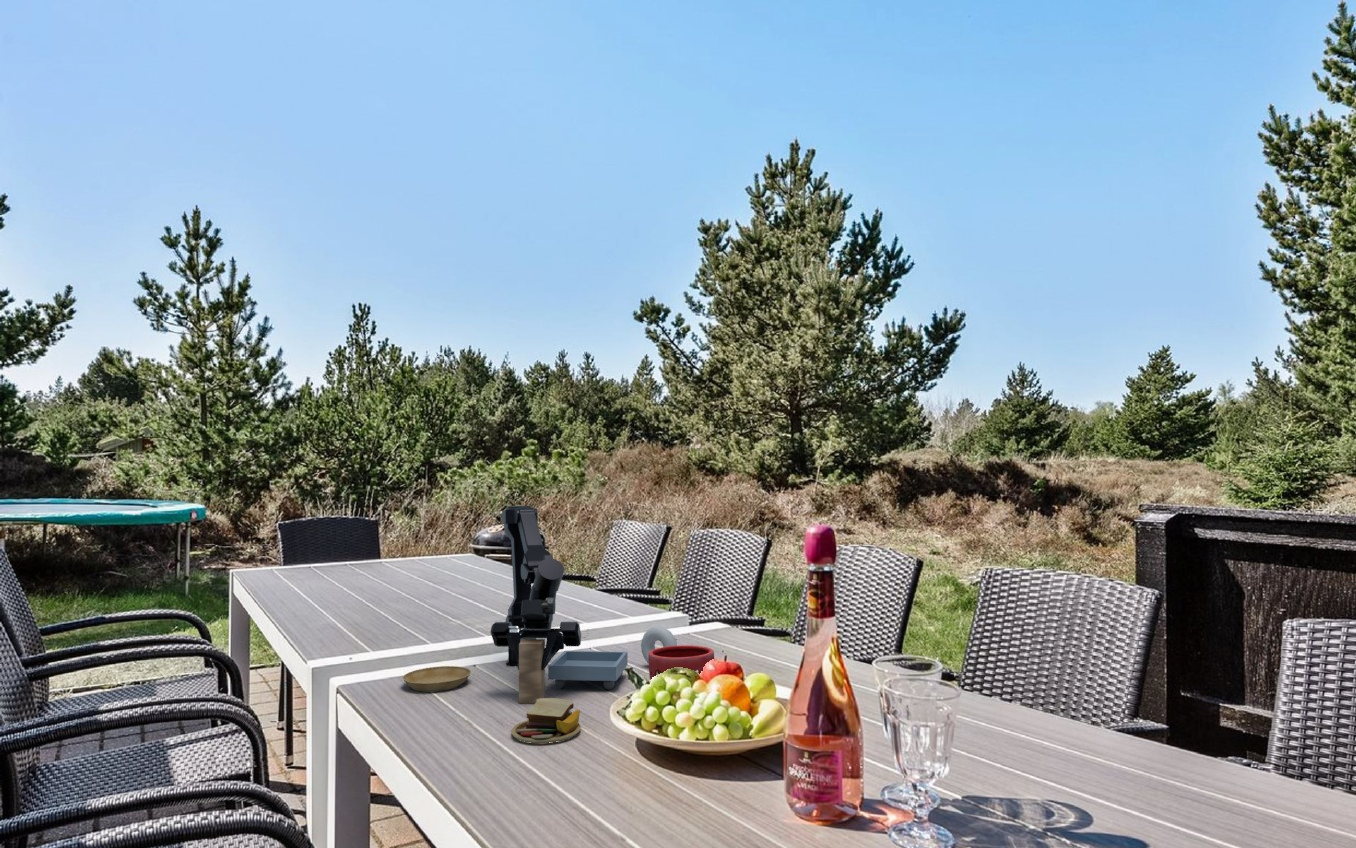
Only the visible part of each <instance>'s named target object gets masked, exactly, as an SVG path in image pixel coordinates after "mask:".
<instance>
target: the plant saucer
mask: <svg viewBox="0 0 1356 848" xmlns="http://www.w3.org/2000/svg"><path fill="white" fill-rule="evenodd" d="M471 674H472V670H471V669H469V668H467V667H463V666H457V665H456V666H455V665H451V666H450V665H444V666H443V665H442V666H440V665H439V666H431V667H425V668H419V669H416V670H411V671H409V672H407V673H405V674H404V675H403V676H402V679H403V681H404V683H405V684H407V686H408V687H409V688H411V689H412V690H414V691H418V692H428V693H429V692H430V693H431V692H443V691H449V690H452V689H456V688H458V687H460V686H461V685H462V684H464V683H465V682H466V681H467V679H468V678H469V676H470V675H471Z"/></svg>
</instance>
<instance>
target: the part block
mask: <svg viewBox="0 0 1356 848" xmlns="http://www.w3.org/2000/svg"><path fill="white" fill-rule="evenodd" d="M545 647H546V638H536V639H523V640H522V641H521V642H520V643H519V670H518V704H535V703H536V700H537V699H541V698H546V680H545V679H546V676H545V675H546V668H545V669H544V670H541V664H542V658H543V654H544V650H545Z"/></svg>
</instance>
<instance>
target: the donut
mask: <svg viewBox="0 0 1356 848" xmlns="http://www.w3.org/2000/svg"><path fill="white" fill-rule="evenodd" d="M657 641H658V642H660V643H661V644H662V647H667V646H678V643H677V640H676V637H675V636H674V634H673V633H672V631H670V630H669V629H668V628H666V627H663V626H661V625H660V626H658V625H657V626H652V627H651V628H649V629H648V628H647V631H645V633H644V634H643V637H642V639H641V643H640V649H641V653H642V656H643V659H644V660H645V662H646V663H647V664H648V665H649V662H648V654H649V652H650V651H652V650H654V649H656V647H655V645H656V643H657Z"/></svg>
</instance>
